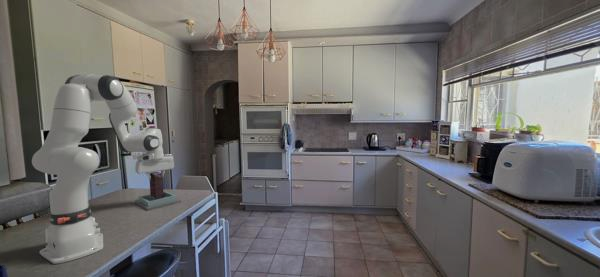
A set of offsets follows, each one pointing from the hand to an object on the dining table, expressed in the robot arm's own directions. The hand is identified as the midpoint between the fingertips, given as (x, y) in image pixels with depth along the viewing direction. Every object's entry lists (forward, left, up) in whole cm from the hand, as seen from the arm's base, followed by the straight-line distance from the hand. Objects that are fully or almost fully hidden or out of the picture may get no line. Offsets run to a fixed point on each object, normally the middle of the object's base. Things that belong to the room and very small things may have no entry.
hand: (156, 178), depth 151 cm
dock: (0, 0, -14) cm, 14 cm away
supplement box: (0, 0, -13) cm, 13 cm away
